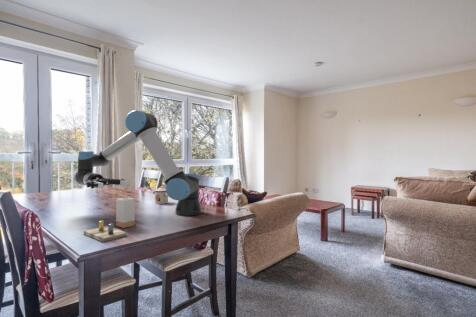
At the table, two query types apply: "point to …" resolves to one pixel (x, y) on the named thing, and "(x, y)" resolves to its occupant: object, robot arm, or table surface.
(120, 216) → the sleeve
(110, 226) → the steel pin
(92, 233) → the pin board
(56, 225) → the table surface
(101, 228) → the brass pin
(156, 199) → the wooden birdhouse
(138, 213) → the table surface
